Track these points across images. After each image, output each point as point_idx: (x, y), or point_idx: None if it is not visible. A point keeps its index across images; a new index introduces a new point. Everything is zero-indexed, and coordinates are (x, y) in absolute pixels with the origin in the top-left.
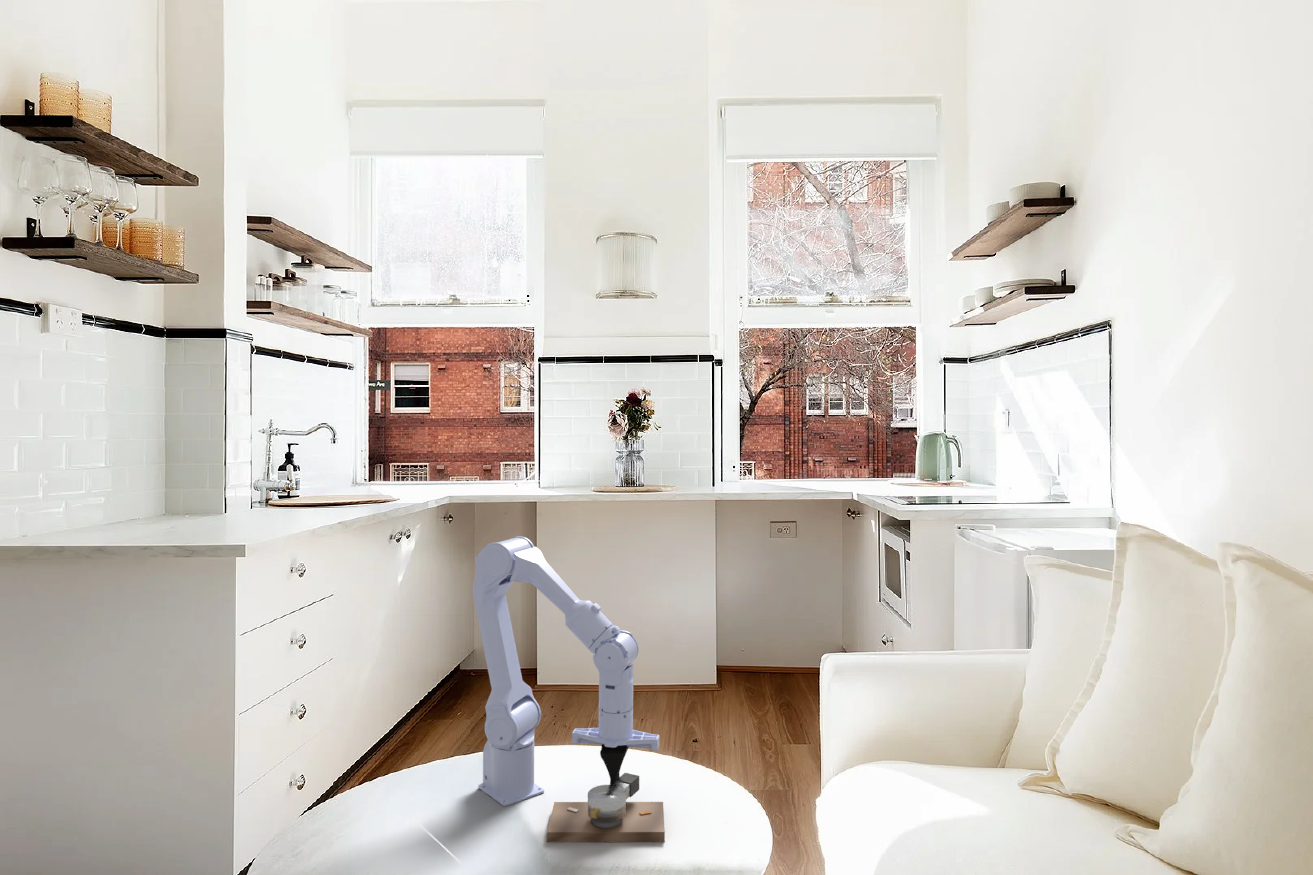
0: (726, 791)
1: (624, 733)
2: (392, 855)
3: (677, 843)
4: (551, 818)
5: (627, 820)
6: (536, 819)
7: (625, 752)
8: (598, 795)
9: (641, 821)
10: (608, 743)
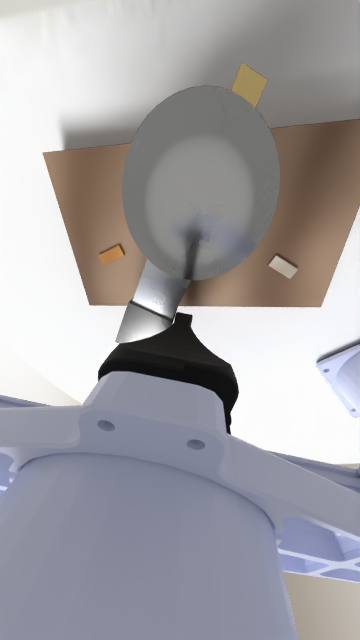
0: (28, 354)
1: None
2: None
3: (37, 163)
4: (349, 221)
5: None
6: (355, 269)
7: (101, 376)
8: (231, 181)
9: (112, 213)
10: (175, 416)
